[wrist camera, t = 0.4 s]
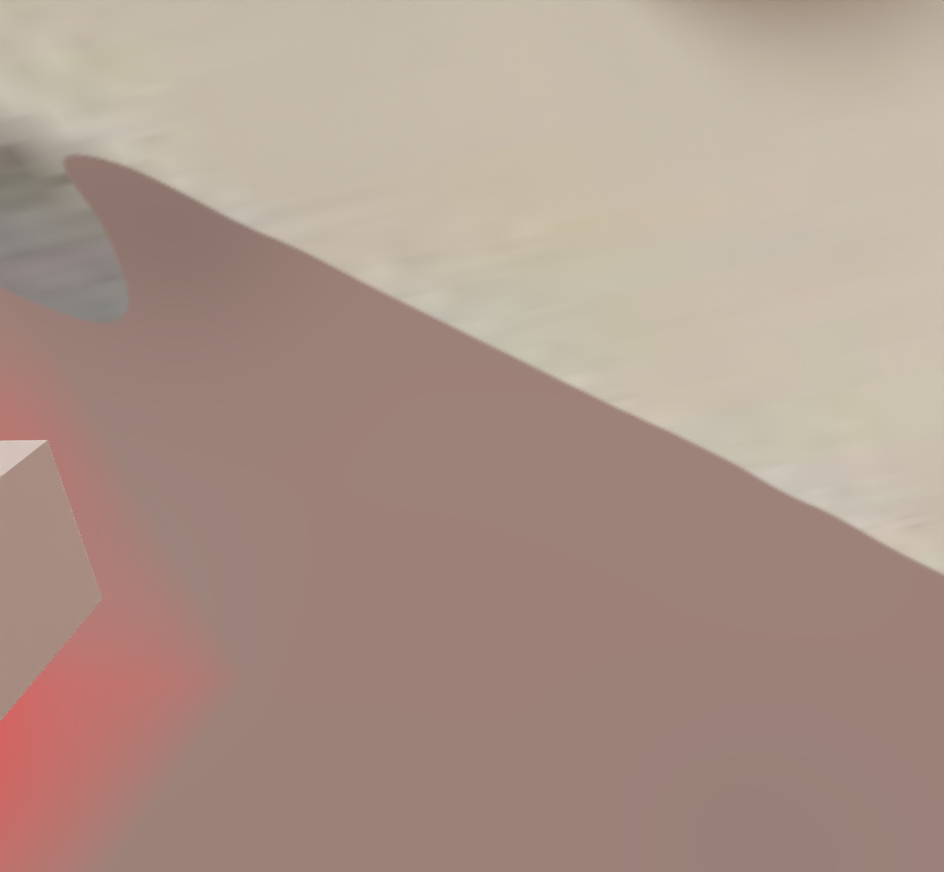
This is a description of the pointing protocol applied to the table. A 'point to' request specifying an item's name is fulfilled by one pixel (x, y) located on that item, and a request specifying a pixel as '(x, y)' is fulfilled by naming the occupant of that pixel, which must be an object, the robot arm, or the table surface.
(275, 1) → the table surface
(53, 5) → the table surface
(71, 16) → the table surface
